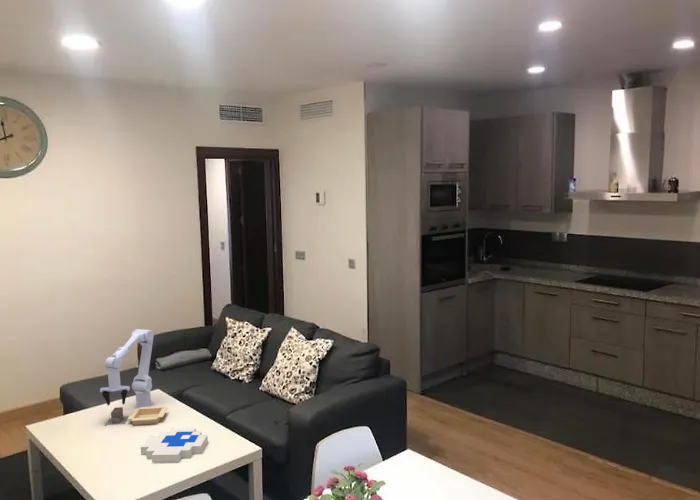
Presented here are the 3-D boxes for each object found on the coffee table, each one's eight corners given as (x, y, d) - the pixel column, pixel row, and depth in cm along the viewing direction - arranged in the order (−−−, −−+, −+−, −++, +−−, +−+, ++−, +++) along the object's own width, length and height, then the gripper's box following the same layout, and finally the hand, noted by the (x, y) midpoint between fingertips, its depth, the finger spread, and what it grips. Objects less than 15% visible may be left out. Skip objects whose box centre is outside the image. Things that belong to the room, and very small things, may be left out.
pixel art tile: (155, 428, 291) (211, 427, 290) (156, 436, 291) (212, 435, 291) (133, 455, 263) (195, 454, 262) (134, 463, 264) (196, 462, 263)
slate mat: (110, 418, 315) (110, 417, 314) (129, 416, 315) (129, 416, 315) (104, 425, 305) (104, 425, 305) (124, 424, 306) (124, 423, 306)
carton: (135, 413, 320) (135, 407, 319) (169, 411, 321) (168, 405, 321) (126, 427, 302) (125, 420, 301) (162, 425, 304) (161, 418, 303)
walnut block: (115, 418, 313) (114, 407, 312) (123, 417, 314) (122, 407, 313) (111, 423, 306) (110, 412, 306) (119, 423, 307) (118, 412, 306)
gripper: (97, 382, 303) (99, 408, 304) (126, 381, 304) (128, 406, 306) (101, 378, 310) (103, 402, 311) (130, 376, 311) (131, 401, 313)
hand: (116, 404), depth 309 cm, fingers open, 7 cm apart
